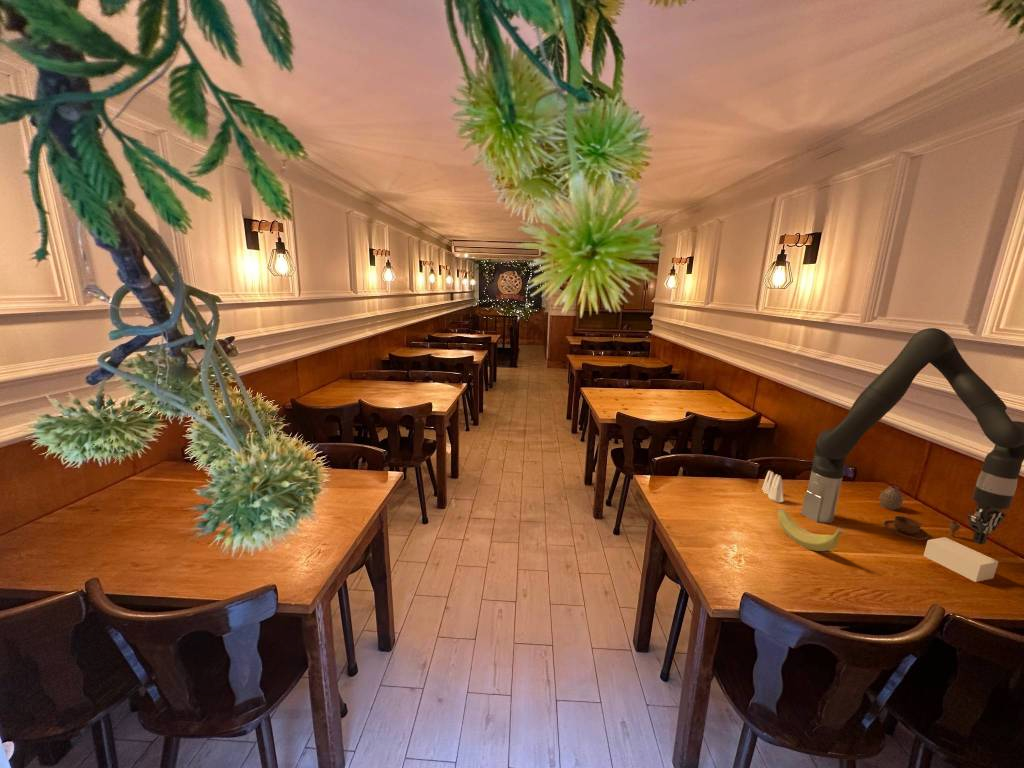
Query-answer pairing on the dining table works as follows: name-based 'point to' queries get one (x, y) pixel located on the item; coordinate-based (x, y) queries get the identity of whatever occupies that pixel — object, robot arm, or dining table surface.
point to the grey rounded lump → (891, 498)
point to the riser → (961, 559)
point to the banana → (807, 534)
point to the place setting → (914, 527)
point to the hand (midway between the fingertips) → (978, 542)
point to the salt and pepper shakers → (773, 487)
